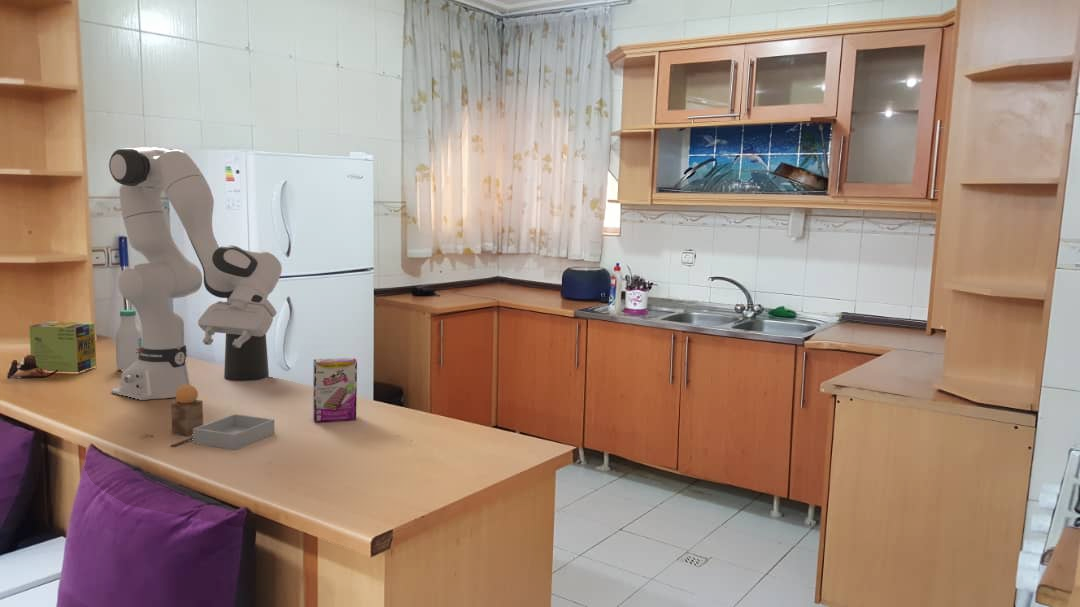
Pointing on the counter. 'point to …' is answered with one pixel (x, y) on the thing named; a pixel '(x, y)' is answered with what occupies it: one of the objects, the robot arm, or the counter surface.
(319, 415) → the candy bar box
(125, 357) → the milk bottle
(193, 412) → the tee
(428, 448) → the counter surface
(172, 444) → the line
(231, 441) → the tray
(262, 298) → the robot arm
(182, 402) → the ball
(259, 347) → the vase
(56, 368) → the protein box
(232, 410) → the counter surface
